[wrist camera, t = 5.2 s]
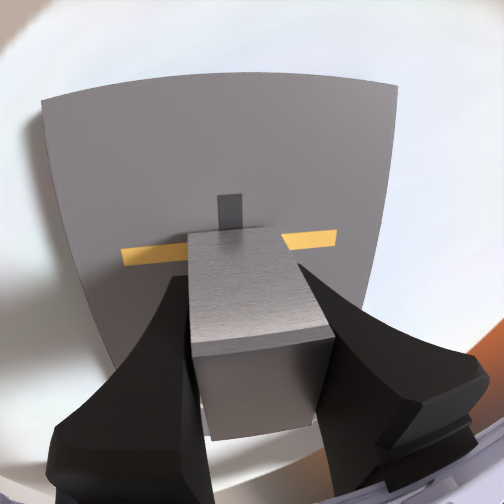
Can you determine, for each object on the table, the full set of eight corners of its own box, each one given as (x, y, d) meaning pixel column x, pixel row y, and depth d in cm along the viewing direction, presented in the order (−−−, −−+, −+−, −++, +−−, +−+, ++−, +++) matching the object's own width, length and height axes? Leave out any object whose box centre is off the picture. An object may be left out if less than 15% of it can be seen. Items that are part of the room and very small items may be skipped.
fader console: (319, 393, 21) (327, 415, 20) (152, 415, 20) (152, 439, 18) (370, 82, 11) (398, 85, 9) (63, 95, 9) (40, 100, 8)
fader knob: (272, 314, 13) (310, 425, 9) (199, 322, 13) (211, 441, 8) (276, 225, 11) (335, 336, 7) (187, 233, 11) (192, 357, 6)
